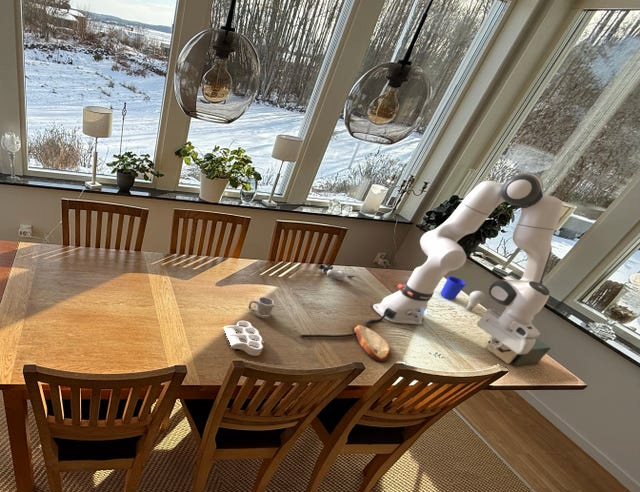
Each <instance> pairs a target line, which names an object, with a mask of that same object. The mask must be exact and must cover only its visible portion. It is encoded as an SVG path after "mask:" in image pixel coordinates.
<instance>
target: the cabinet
mask: <svg viewBox="0 0 640 492" xmlns="http://www.w3.org/2000/svg"><path fill="white" fill-rule="evenodd" d="M535 339H536V342H535V344H534V346H533V347H532V349H531V350H530V351H529V352H528V353H527V354H521V355H520V356H519V357H518V358H517V360H516V361H511V362H510V363H509V364H511V365H512V366H525V365H535V364H538V363H540V361H541V360H542V358H544V356H545V355H546V354H547V353H548V352H549V351H550V350H551V347H550V346H549V345H548V344H546V343H544V341H543V342H542V340H540V339H538V338H537V337H535Z"/></svg>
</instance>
